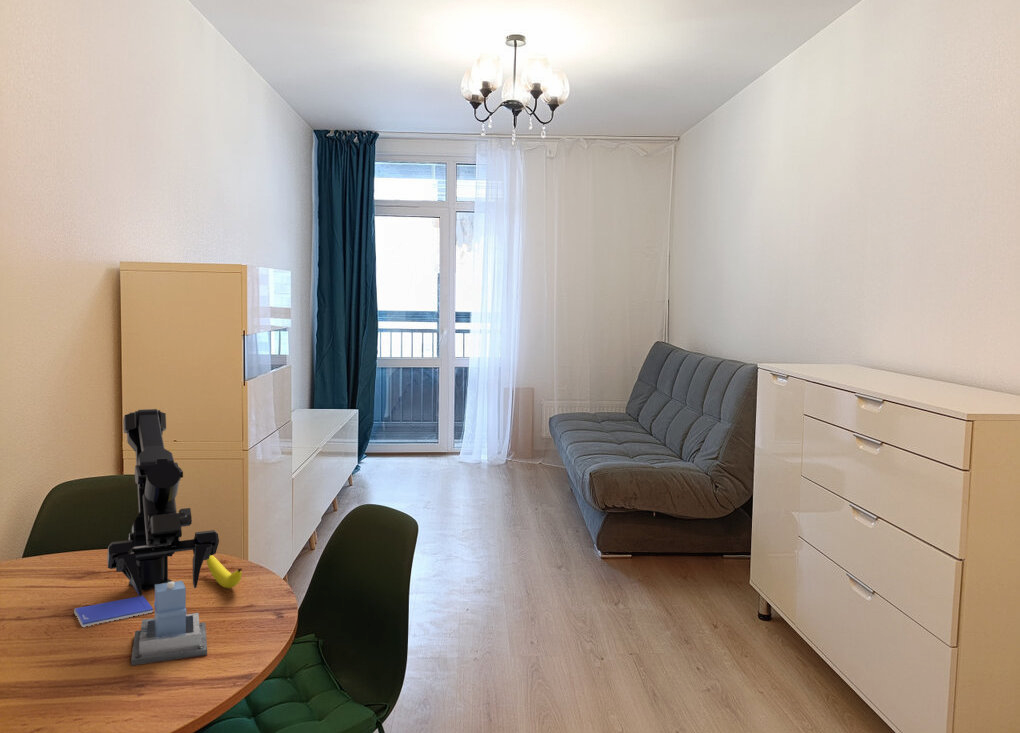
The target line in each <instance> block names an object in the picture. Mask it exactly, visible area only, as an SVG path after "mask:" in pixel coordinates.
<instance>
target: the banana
mask: <svg viewBox="0 0 1020 733" xmlns="http://www.w3.org/2000/svg"><path fill="white" fill-rule="evenodd" d="M206 564H207V567H208V570H209V571H210V574H211V575H212V577H213V578H214V579H215V581H216V582H217V584H218V585H220V586H221V587H222V588H225V589H232V588H234V587H236V586H237V585H238V584H240V582H241V580H242V579H241V578H242V575H243V573H242V570H243V569H242V568H238V569H237V570H236V571H233V572H230V571H229V570H228V569H227V568H226V567H225V566H224V565H223V564H222V563H221V562H220V561H219V559H217V558H216V557H215V556H214V555H211V556H210V557H209V559H207V560H206Z"/></svg>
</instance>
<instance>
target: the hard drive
mask: <svg viewBox="0 0 1020 733" xmlns="http://www.w3.org/2000/svg"><path fill="white" fill-rule="evenodd" d="M152 612H153V613H154V608H153V607H152V605H151V604H150V603H149V602H148V600H147V599H146V597H145V596H144V595H142V596H141V597H139V596H138V595H137V596H133V597H128V598H122V599H118V600H113V601H106V602H102V603H98V604H91V605H88V606H81V607H76V608H74V612H73V613H74V615H75V617H76V616H77V617H76V619H77V618H78V619H77V620H79V621H78V623H79V624H80V626H81V627H83V628H87V627H86V626H88V627H92V626H91V625H93V626H95V625H94V624H97V625H100V624H99V623H102V624H104V623H103V622H107V623H110V622H109V621H111V622H114V620H116V621H119V619H121V620H125V619H129V617H130V618H133V616H135V617H138V615H139V616H143V614H144V615H148V613H149V614H153V613H152Z"/></svg>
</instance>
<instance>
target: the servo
mask: <svg viewBox="0 0 1020 733" xmlns="http://www.w3.org/2000/svg"><path fill="white" fill-rule="evenodd" d="M186 590H187V588H186V586H185V584H184V582H183V580H177V581H172V582H168V583H162V584H156V585H155V588H154V602H153V604H154V605H153V606H154V618H155V637H161V636H169V635H177V634H185V633H186V614H188V613H187V611H188V610H187V608H186V605H187V604H186V603H187V602H186V601H187V600H186V599H187V598H186V596H187V595H186V594H187V591H186Z"/></svg>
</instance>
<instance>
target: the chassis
mask: <svg viewBox="0 0 1020 733" xmlns="http://www.w3.org/2000/svg"><path fill="white" fill-rule="evenodd" d="M199 614H200V612H195V613H187V614H186V633H185V634H177V635H169V636H161V637H155V617H153V618H145V619H141V624H140V626H141V627H140V630H135V631H134V638H133V644H132V652H131V660H130V661H131V663H130V666H132V667H133V666H137V665H144V664H145V665H146V664H151V663H159V662H160V663H161V662H167V661H174V660H175V661H176V660H180V659H187V658H188V659H189V658H196V657H202V656H203V657H204V656H208V642H207V628H206V627H207V626H206V625H207V624H206V622H205V621H203V622H200V615H199Z"/></svg>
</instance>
